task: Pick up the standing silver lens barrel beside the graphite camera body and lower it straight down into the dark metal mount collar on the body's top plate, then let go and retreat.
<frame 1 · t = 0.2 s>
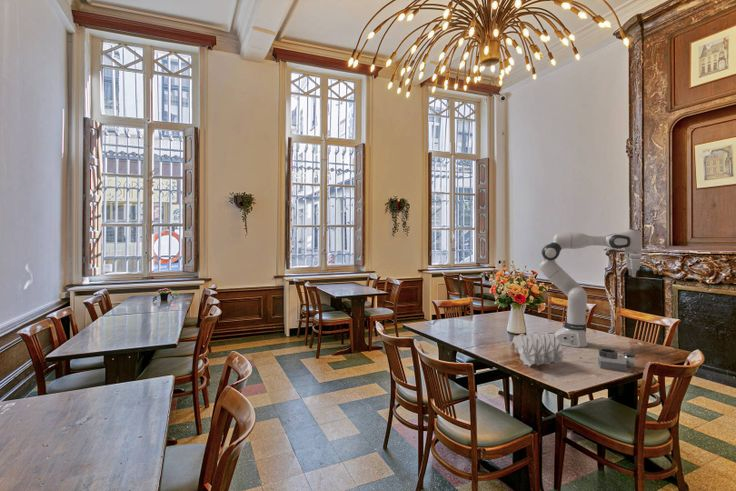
hand: (632, 276, 242), 48 cm above the table, fingers open, 8 cm apart
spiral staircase: (538, 364, 217), on the table
camera body: (611, 367, 212), on the table
lens: (628, 366, 214), on the table
teacup with lid: (519, 353, 237), on the table
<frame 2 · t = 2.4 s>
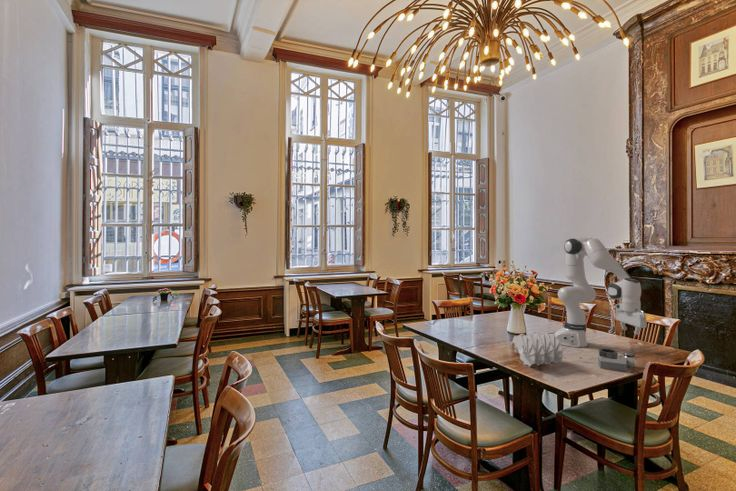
hand: (630, 332, 213), 19 cm above the table, fingers open, 8 cm apart
nothing on the table moved.
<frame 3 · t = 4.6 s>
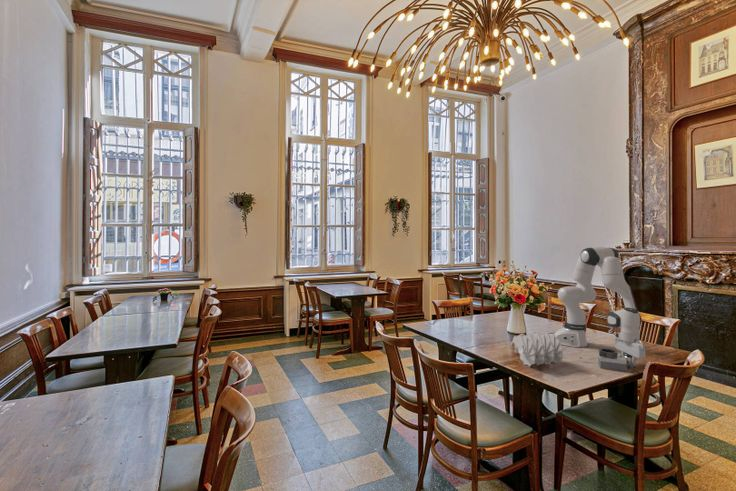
hand: (629, 361, 214), 3 cm above the table, fingers closed on lens, 5 cm apart
lens: (628, 366, 214), on the table, touching gripper
everything else where it was.
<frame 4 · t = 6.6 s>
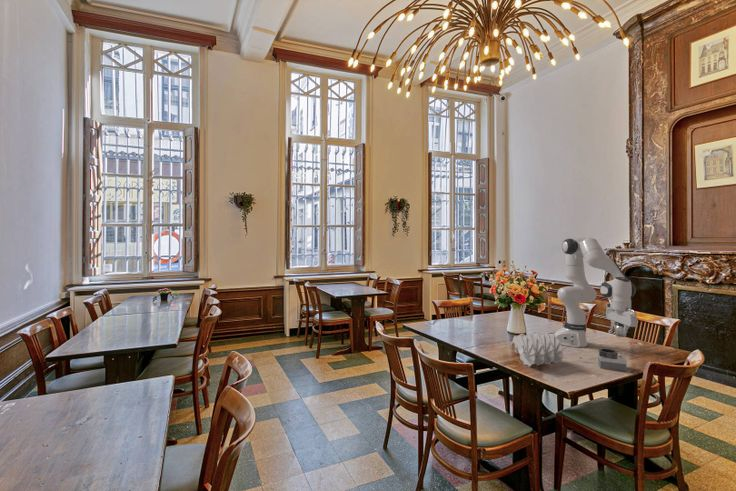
hand: (620, 331, 213), 20 cm above the table, fingers closed on lens, 5 cm apart
lens: (620, 335, 213), point 17 cm above the table, touching gripper
everything else where it was.
when the fingers open (10 cm above the table, at t = 9.0 s): lens stays where it is, resting on camera body.
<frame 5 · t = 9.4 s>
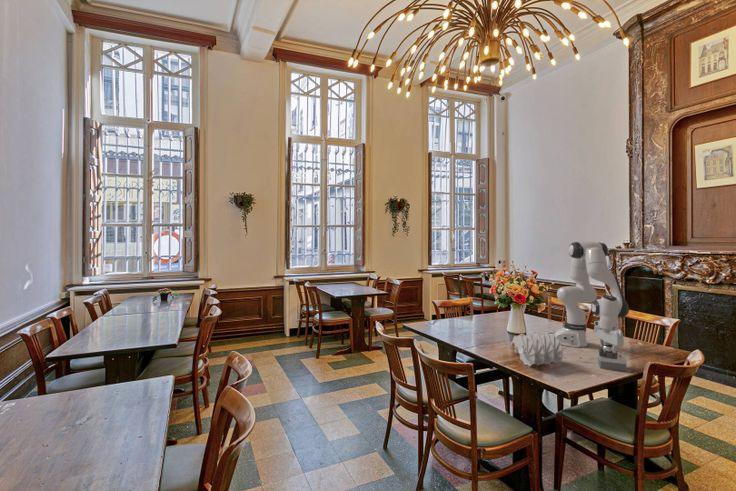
hand: (608, 349, 213), 10 cm above the table, fingers open, 8 cm apart
lens: (607, 356, 213), point 6 cm above the table, touching camera body
everything else where it was.
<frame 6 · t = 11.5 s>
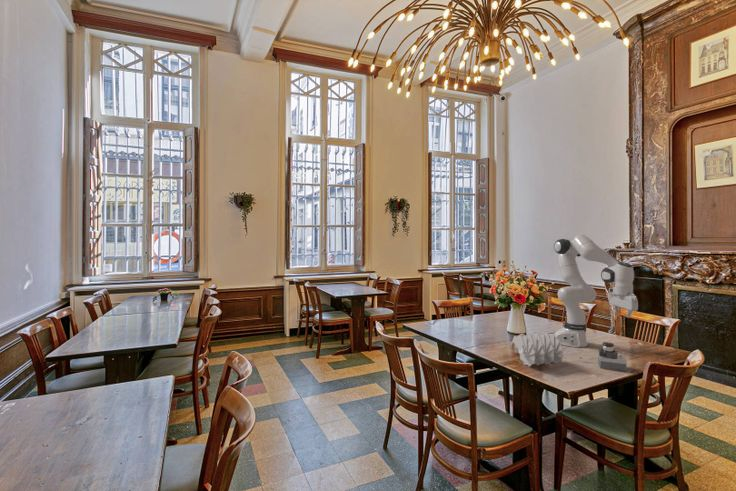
hand: (622, 315, 219), 28 cm above the table, fingers open, 8 cm apart
nothing on the table moved.
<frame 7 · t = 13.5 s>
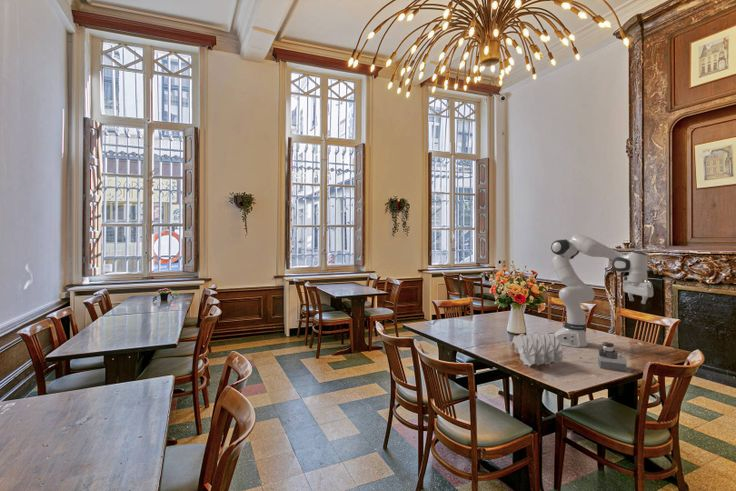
hand: (637, 302, 225), 34 cm above the table, fingers open, 8 cm apart
nothing on the table moved.
at the end: lens 0.1 cm from the target spot on the camera body, point 6.1 cm above the camera body's base; lens tilted 1°; the gripper is holding nothing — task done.
